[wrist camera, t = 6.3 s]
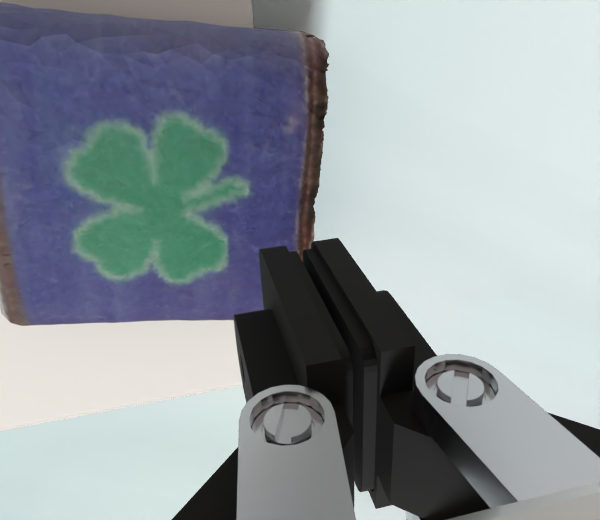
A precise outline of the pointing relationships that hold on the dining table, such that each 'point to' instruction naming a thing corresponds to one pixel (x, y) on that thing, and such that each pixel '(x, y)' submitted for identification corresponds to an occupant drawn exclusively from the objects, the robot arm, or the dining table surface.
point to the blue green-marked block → (151, 164)
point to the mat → (125, 335)
